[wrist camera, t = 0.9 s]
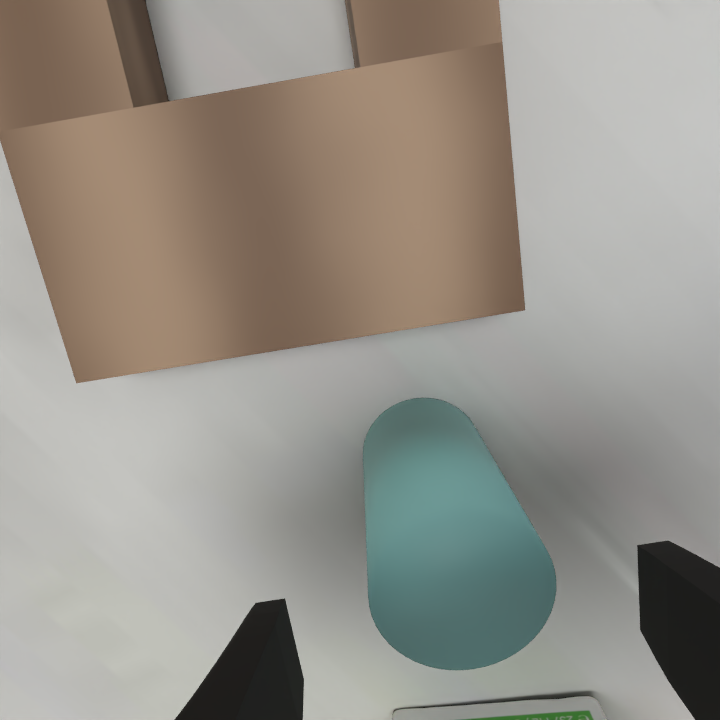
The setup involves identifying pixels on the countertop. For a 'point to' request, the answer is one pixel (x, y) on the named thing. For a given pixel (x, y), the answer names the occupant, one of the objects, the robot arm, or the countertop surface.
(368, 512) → the peg
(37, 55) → the socket board
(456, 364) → the countertop surface
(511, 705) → the skincare box
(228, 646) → the robot arm
